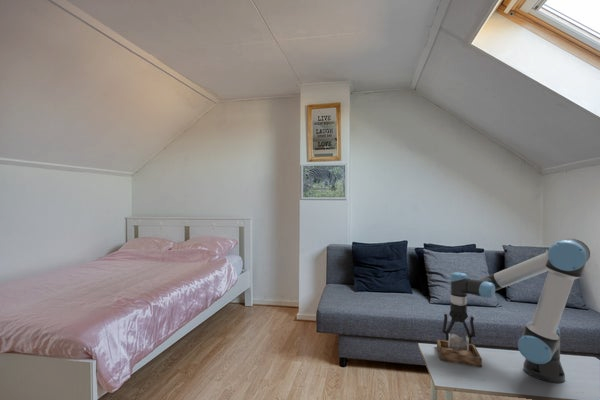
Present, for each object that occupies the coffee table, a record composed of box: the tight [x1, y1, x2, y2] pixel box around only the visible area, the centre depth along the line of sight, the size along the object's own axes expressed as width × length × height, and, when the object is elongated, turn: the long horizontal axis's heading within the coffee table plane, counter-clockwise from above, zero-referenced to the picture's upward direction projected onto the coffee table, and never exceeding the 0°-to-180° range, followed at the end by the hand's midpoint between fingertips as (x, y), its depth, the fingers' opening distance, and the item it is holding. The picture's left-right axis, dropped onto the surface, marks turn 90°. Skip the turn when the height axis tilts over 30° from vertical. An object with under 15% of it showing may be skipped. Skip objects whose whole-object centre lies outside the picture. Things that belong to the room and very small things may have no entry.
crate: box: [436, 339, 483, 368], centre depth 161 cm, size 18×16×4 cm
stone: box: [450, 333, 467, 351], centre depth 162 cm, size 10×8×6 cm
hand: (458, 348), depth 161 cm, fingers closed on stone, 8 cm apart
